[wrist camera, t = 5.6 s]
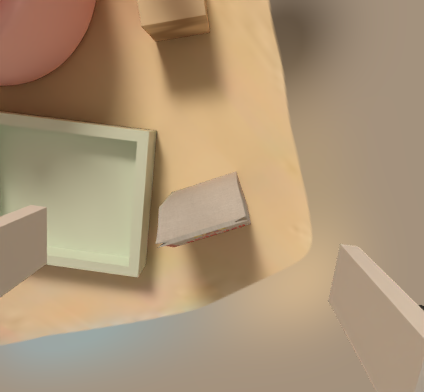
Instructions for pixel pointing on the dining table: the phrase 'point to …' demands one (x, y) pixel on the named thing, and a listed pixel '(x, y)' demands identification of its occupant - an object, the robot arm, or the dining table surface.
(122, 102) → the dining table surface
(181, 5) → the oak block
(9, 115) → the tray
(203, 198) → the tea bag
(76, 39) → the cake
